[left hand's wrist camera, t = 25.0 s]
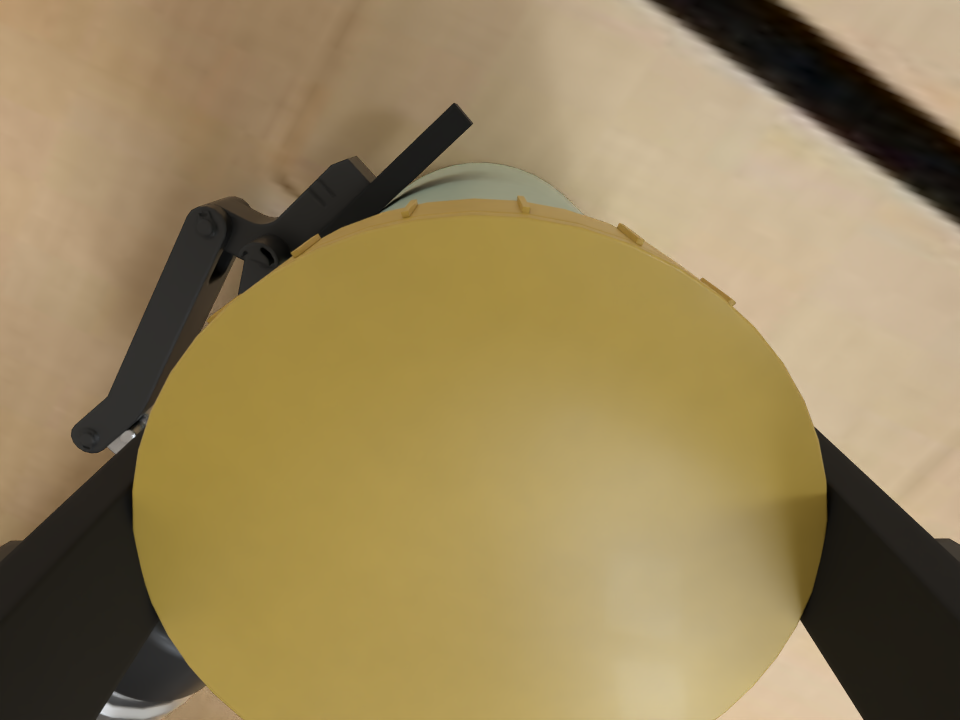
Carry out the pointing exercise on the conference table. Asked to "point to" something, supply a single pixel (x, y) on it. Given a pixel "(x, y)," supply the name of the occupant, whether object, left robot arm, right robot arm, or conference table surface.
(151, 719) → the right robot arm
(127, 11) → the conference table surface
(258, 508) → the lid
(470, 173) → the jar
